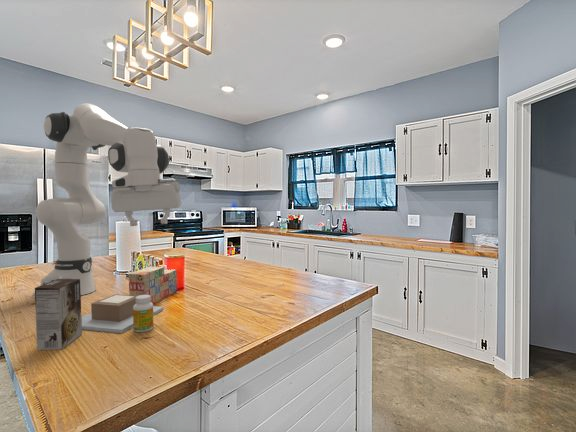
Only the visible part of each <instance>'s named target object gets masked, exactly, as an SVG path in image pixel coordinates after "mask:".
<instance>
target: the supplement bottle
mask: <svg viewBox="0 0 576 432" xmlns="http://www.w3.org/2000/svg"><path fill="white" fill-rule="evenodd" d="M150 300H151V297H150V295H139V296H137V297H136V304H135V305H134V306H133V327H132V328H133V331H134V332H136V333H146V332H148V331H151V330H153V328H154V315H153V306H154V303H151V302H150Z"/></svg>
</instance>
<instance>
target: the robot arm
mask: <svg viewBox="0 0 576 432" xmlns="http://www.w3.org/2000/svg"><path fill="white" fill-rule="evenodd" d="M43 130H44V134H45V136H46V137H47V138H48V139H49V140H51V141H53V142H56V145H55V151H54V152H55V153H54V174H55V175H54V177H55V182H56V184H57V185H58V186H59V187H60V188H62V189H64V190H65V191H66V192H67V193H68V196H69V197H67V198H66V197H63V198H61V197H60V198H59V197H58V198H57V197H55V198H48V199H44V200H41V201H39V203H38V204H37V206H36V207H35V216H36V219H37V221H39V223H40V224H42V225H44V226H45V227H47V228H48V229H49V230H50V232H51V233H52V234H53V235H54V238H55V241H56V242H55V243H56V248H57V250H56V251H57V260H54V261H53V262H52V265H54V267H53V268H54V269H53V270H51V271H50V272H49V273H48V274H46V275H45V276H44V277H42V278H41V281H40V285H39V286H41V285H43V284H46V283H49V282H51V281H54V280H56V279H80V292H81V296H83V295H88V294H91V293H93V292H95V291H96V290H97V289H96V285H95V282H94V276H93V269H92V266H93V263H92V262H93V259H92V257H91V241H90V239H89V237H88V236H86V234H83V233H80V231H79V229H78V226H79V225H82V226H83V225H92V224H96V223H98V222H99V223H100V222H101V221H103V220H104V218H105V216H106V212H107V210H106V207H105V204H104V203H103V202H102V201H101V200H100V199H98V198H97V196H95V194H94V192H93V190H92V188H91V185H90V181H89V169H88V168H89V167H88V164H89V163H88V161H89V160H88V150H89V149H90V148H91V149H92V150H93V151H96V150H98V149H99V148H104V147H106V146H108V147H109V148H108V151H107V156H108V157H107V158H108V159H107V160H108V163H109V165H110V166H111V168H112V169H113V170H115V171H116V172H119V173H127V174H126V175H123V176H121V177H119V178H115V179H113V180H112V182H111V186H112V188H113V190H112V191H111V193H110V194H111V197H110V198H111V201H110V202H111V209H112V211H113V212H114V213H124V216H125V218H127V220H128V221H129V226H130V227H137V226H138V219H135V218H134V217H133V215H134V212H141V211H155V210H156V211H157V210H162V212H163V213H164V215H163V217H161V218H160V224H161V225H167V224H168V217H169V216H170V214H171V209H179V208H181V206H182V200H181V196H180V192H179V191H180V183H179V181H178V180H176V179H174V178H163V179H162V178H161V174H162V173H163V172H164V171H166V169H167V168H168V166H169V164H170V156H169V153H168V152H167V150H166V149H165V147H164V146H162V145H161V144H157V140H156V137H155V134H154V131H153V130H151V129H149V128H145V127H135V126H131V127H127V126H126V125H124V124H123V123H121V122H119V121H118V120H117V119H115V118H114V117H112V116H110V114H108V113H107V112H106V111H105V110H103V109H102V108H100V107H99V106H97V105H95V104H93V103H89V102H88V103H86V102H85V103H80V104H78V105H77V106H76V107H75V109H74V110H73V113H71V114H69V113H66V112H65V111H62V112H61V111H60V112H54V113H53V112H52V113H49V114H48V115H46V117H45V119H44V121H43ZM32 296H35V291H33V292H32Z"/></svg>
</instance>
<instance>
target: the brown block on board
mask: <svg viewBox="0 0 576 432" xmlns="http://www.w3.org/2000/svg"><path fill="white" fill-rule="evenodd" d="M136 297H137V296H133V295H128V294H112V295H109V296H106V297H104V298H102V299H100V300H97V301H94V302H91V304H90V306H91V307H90V308H91V312H89V313H87V314H84V315H83V316H82V315H81V319H82V330H85V331H86V330H88V331H95V332H97V331H98V332H107V333H115V334H117V333H118V334H124V333H126V332H127V331H129V330H130V329H132V328H133V306H134V305H135V304H136ZM164 308H165V307H164V306H155V305H153V316H155V315H157V314H159V313H160V312H162V311H164Z"/></svg>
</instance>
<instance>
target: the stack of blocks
mask: <svg viewBox="0 0 576 432" xmlns="http://www.w3.org/2000/svg"><path fill="white" fill-rule="evenodd" d="M168 269H169V268H168ZM168 269H167V268H166V269H165V267H164V266H148V267H144V268H142V269H139V270H136V271H132V272H130V273H128V291H129V293H128V294H129V295H133V296H139V295H150V297H151V300H150V302H151V303H153V304H155V303H156V302H159V301H160V300H162V299H164V298H166V297H168V296H171V295H172V294H175V293H176V292H178V277H177V276H178V275H177V273H178V272H177V271H178V270H177V269H171V270H170V269H169V270H168Z"/></svg>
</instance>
